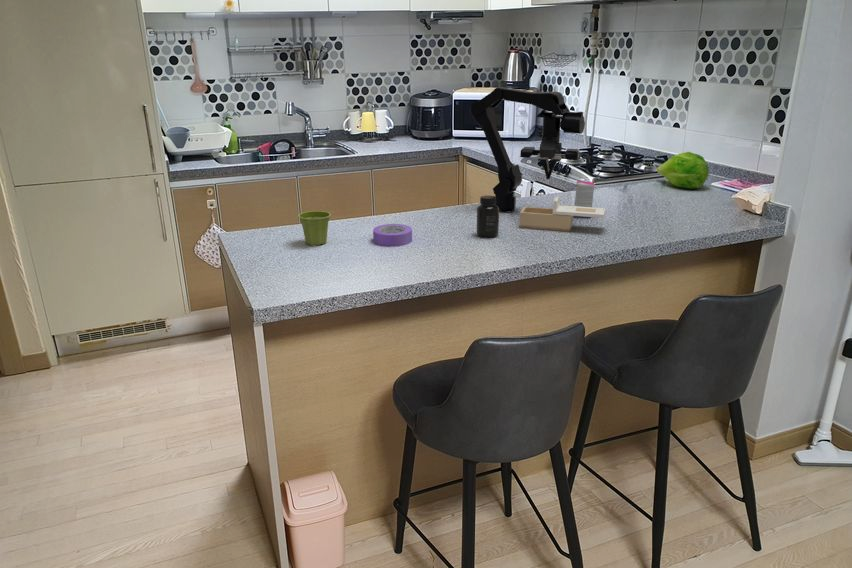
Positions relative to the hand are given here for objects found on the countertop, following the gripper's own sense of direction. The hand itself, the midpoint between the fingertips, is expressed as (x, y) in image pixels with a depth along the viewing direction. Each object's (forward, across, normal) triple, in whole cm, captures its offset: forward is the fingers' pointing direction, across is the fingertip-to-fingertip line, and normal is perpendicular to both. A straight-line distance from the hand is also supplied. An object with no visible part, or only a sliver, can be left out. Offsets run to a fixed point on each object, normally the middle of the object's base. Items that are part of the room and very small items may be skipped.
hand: (548, 179), depth 224 cm
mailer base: (+12, +2, -14) cm, 19 cm away
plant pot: (+13, -61, -52) cm, 81 cm away
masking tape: (+13, -40, -43) cm, 60 cm away
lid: (+7, +12, -14) cm, 20 cm away
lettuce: (+13, +45, +62) cm, 78 cm away
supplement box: (+13, +12, +3) cm, 18 cm away
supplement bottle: (+13, -14, -29) cm, 35 cm away
